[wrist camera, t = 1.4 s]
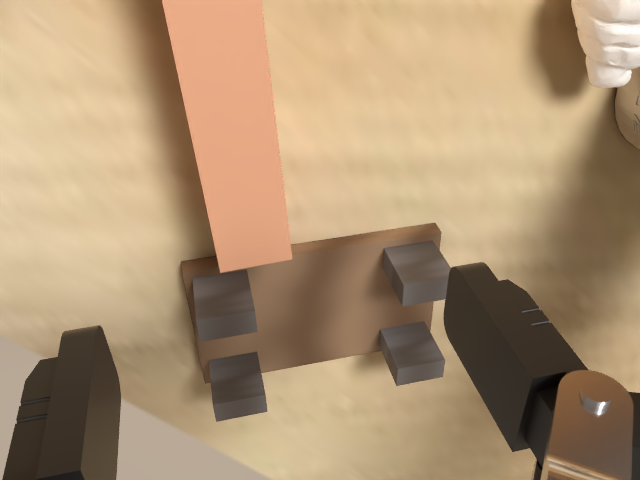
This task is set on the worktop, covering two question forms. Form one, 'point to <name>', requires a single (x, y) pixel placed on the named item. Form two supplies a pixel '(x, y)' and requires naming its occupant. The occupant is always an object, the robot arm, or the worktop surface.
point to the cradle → (318, 311)
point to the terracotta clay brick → (232, 126)
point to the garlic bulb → (609, 39)
